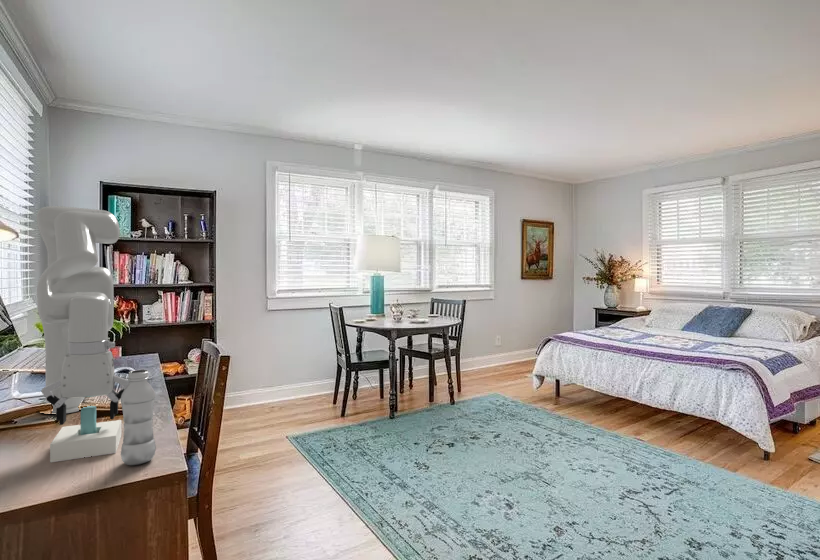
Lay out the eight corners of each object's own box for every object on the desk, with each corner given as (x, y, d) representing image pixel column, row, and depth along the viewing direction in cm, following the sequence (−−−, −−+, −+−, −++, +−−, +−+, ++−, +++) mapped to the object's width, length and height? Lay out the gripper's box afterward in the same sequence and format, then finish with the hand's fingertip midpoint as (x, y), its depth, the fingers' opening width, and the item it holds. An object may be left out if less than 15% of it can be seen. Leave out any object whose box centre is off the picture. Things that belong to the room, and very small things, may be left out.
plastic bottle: (162, 458, 101) (163, 369, 100) (135, 471, 94) (135, 376, 94) (141, 454, 103) (141, 367, 102) (113, 466, 96) (113, 373, 96)
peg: (81, 446, 106) (81, 407, 106) (97, 444, 108) (97, 405, 108) (79, 451, 104) (79, 410, 104) (95, 449, 105) (95, 408, 105)
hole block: (62, 443, 108) (62, 426, 108) (121, 435, 114) (121, 419, 114) (50, 462, 98) (50, 444, 98) (115, 453, 103) (115, 435, 103)
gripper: (133, 343, 113) (132, 410, 113) (46, 347, 105) (46, 419, 105) (130, 348, 106) (129, 420, 107) (37, 353, 98) (37, 430, 99)
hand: (88, 420), depth 106 cm, fingers open, 9 cm apart
